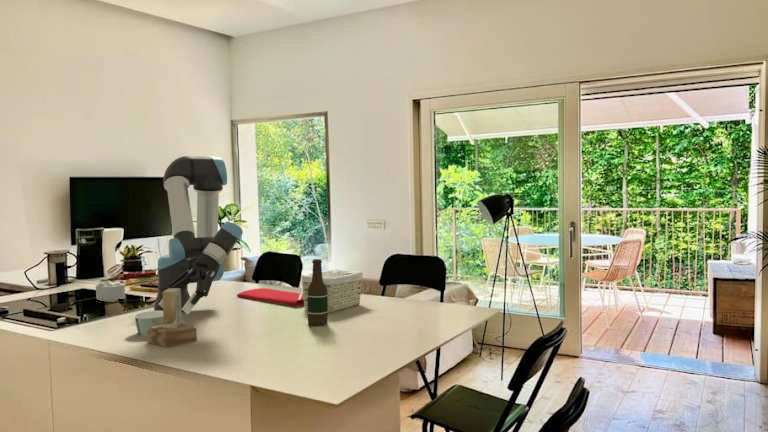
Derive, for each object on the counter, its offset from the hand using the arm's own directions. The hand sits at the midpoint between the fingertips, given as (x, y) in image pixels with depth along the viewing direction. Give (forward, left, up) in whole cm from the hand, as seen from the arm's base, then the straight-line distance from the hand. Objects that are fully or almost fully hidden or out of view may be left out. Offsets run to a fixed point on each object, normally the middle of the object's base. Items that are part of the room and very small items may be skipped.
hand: (172, 309), depth 191 cm
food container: (-17, +3, -11) cm, 20 cm away
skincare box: (0, 0, -6) cm, 6 cm away
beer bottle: (+22, +46, -11) cm, 52 cm away
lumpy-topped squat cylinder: (-89, +24, -11) cm, 93 cm away
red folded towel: (-26, +70, -11) cm, 76 cm away
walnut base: (0, 0, -11) cm, 11 cm away
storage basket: (+6, +72, -11) cm, 73 cm away
